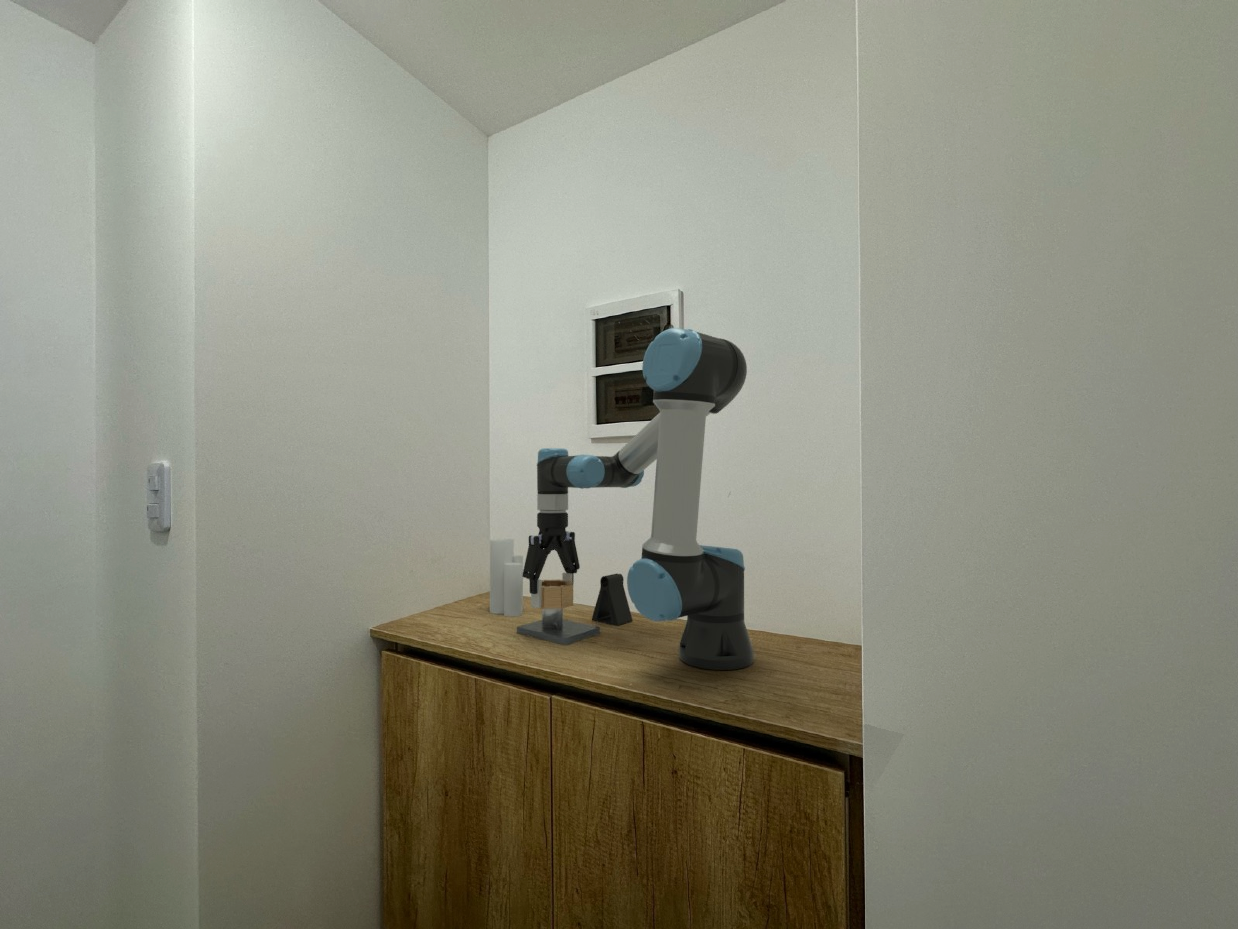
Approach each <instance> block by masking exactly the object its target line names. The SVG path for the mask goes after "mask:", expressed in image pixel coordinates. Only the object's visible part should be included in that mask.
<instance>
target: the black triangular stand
mask: <svg viewBox="0 0 1238 929" xmlns="http://www.w3.org/2000/svg"><path fill="white" fill-rule="evenodd" d="M599 580H600V581H599V583H600V588H599V592H598V595H597V599H596V601H595V602H596V603H595V606H594V610H593V614H592V616H591V622H596V623H601V624H607V625H611V626H615V627H619V626H621V625H625V624H629V623H631V622H633V617H632V613H631V609H630V605H629V601H628V598H627V595H626V591H625V587H624V576H623V575H622V574H621V573H613V574H607V575H604V576H601V578H600V579H599Z"/></svg>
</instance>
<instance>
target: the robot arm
mask: <svg viewBox="0 0 1238 929" xmlns="http://www.w3.org/2000/svg"><path fill="white" fill-rule="evenodd" d="M641 367H642V375H643V379H644V380H645V383H646V385H647V386H648V387H649V388H650V389H652V390H653V397H652V403H653V405H655V406H656V408H657V409H658V411H659V413H658V414H656V415H655V416H654V417H653V418H652V419H651V420H650V421H649V422H648V423H647V424H646V425H645V426H643V427H642V428H641V430H640V431H638V432H637V434H636V435H635V436H633V437H632V438H631V439H630V440H629V441H628V442H627V443H626V444H625V445H623V447H622V448H621V449H619V451H617V452H616V453H615V454H614V455H612V456H607V455H606V456H603V455H593V454H579V455H569V450H568V449H566V448H559V447H549V448H547V447H546V448H541V449H539V450H538V452H537V462H536V474H537V475H536V476H537V477H536V479H537V480H536V481H537V482H536V483H537V486H536V487H537V490H536V492H537V494H536V496H537V498H536V500H537V502H536V503H537V508H536V509H537V511H539V512H538V513H536V526H537V528H538V529H539V530H538V534H537V535H529V536H528V548H527V552H526V557H525V562H524V564H523V575H522V576H523V579H524V578H526V579H528V580H529V594H530V607H531V608H535V609H540V608H541V587H542V580H543V579H540V576H541V573H542V571H543V569H544V567H545V564H546V561H547V559H548V557H549V555H550V554H551V552H552V551H555V552H556V553H557V556H558V558H559V560H560V563H561V564H562V568H563V570H564V572H562V579H561V580H566V581H572V582H573V584H574V581H575V579H574V574H577V573H578V570H580V569H581V568H580V567H581V566H580V560H579V556H578V551H577V550H578V549H577V546H576V533H575V532H574V531H567V530H566V528H568V526H569V513H568V512H567V511H568V510H569V488H572V489H574V488H575V489H581V490H584V489H591V488H622V489H626V488H630V487H632V488H633V487H637V486H638V485H640V483H641V482H642V479H643V478H644V476H645V470H646V469H647V468H648V467H649V466H650V465H652V464H653V463H654V462H655V461H656V465H655V479H654V491H653V506H652V519H651V520H652V522H651V534H650V537H649V538H648V539H647V540H646V541H645V542H644V543H643V544H642V547H641V548H642V549H641V558H640V559H638V560H636V561H635V562H633V564H632V565H631V566H630V567H629V569H628V572H627V577H626V584H627V592H628V595H629V596H628V597H630V600H631V603H632V604H634V607H635V609H636V611H637V612H638V613H639V614H640V615H642V616H643V618H646V619H647V620H649V621H652V622H665V621H675V620H677V619H679V618H684V617H687V618H686V623H685V626H684V628H683V632H682V636H681V638H680V641H679V644H678V657H679V660H680V661H682V662H683V663H684V664H687V665H689V666H692V667H694V668H700V669H704V670H705V669H706V670H712V671H713V670H715V671H732V670H739V669H743V668H746V667H749V666H750V665H752V664H753V663H754V647H753V644H752V642H751V639H750V636H749V632H748V629H747V626H746V624H745V622H746V621H745V570H746V567H745V564H744V554H743V552H742V550H740V549H737V548H733V547H732V548H730V547H721V546H712V545H711V546H710V545H701V544H699V543H698V541H697V537H698V536H697V533H698V523H699V522H698V521H699V508H700V499H701V498H700V496H701V483H702V473H703V472H702V469H703V460H704V459H703V458H704V457H703V456H704V446H705V433H706V421H707V418H706V417H707V416H709V415H710V414H713V415H717V414H719V413H720V412H721V411H722V410H723V409H725V408H726V407H727V406H728V405H729V404H730V403H731V402H733V400H734V399H735V398H736V397H737V396H738V395H739V393H740V392H741V390H742V389H743V386H744V385H745V382H746V378H747V373H748V366H747V360H746V358H745V356H744V353H743V352H742V350H741V349H740V348H739V347H738V345H736V344H734V343H733V342H732V341H730V340H727V339H725V338H719V337H715V336H712V335H709V334H705V333H703V332H699V331H696V330H694V329H690V328H689V329H687V328H685V329H684V328H679V327H672V328H668V329H665V330H664V331H662V332H660V333H659V334H658V335H656V336H655V338H654V339H653V341H651V342H650V343H649V345H648V347H647V349H646V350H645V353H644V356H643V360H642V366H641Z"/></svg>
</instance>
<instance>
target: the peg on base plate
mask: <svg viewBox="0 0 1238 929" xmlns="http://www.w3.org/2000/svg"><path fill="white" fill-rule="evenodd" d="M516 634H519V635H522V636H527V637H530V638H531V637H532V638H535V639H540V640H544V641H548V642H552V643H555V644H560V645H564V646H567V645H570V644H573V643H575V642H579V641H583V640H584V639H588V638H590V637H593V636H596V635H600V634H601V627H600V626H597V625H591V624H587V623H582V622H577V621H572V620H569V619H564V608H562V609H541V619H540V620H536V621H533V622H530V623H526V624H523V625H519V626H516Z"/></svg>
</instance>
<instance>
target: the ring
mask: <svg viewBox="0 0 1238 929" xmlns="http://www.w3.org/2000/svg"><path fill="white" fill-rule="evenodd" d="M541 580H542V587H541V608H539V609H541V610H542V609H562V608H563V609H566V608H569V607H573V606H574V583H573V582H572V581H566V580H562V579H541Z"/></svg>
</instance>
